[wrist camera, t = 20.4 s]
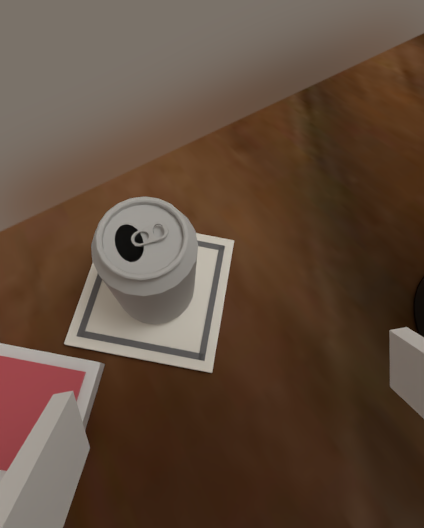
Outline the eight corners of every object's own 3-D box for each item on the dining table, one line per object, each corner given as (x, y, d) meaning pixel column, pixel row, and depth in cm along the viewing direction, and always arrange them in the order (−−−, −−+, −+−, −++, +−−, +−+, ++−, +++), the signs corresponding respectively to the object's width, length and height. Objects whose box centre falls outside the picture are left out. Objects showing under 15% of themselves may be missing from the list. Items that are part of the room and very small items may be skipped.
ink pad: (104, 364, 30) (99, 362, 28) (67, 490, 26) (58, 497, 24) (-22, 339, 29) (-35, 336, 28) (-78, 462, 26) (-98, 467, 24)
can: (111, 267, 32) (73, 202, 21) (180, 247, 34) (179, 176, 23) (130, 337, 30) (98, 304, 19) (204, 311, 31) (215, 267, 20)
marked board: (233, 243, 35) (234, 240, 35) (211, 373, 30) (212, 372, 29) (110, 219, 35) (109, 215, 35) (66, 345, 30) (63, 343, 29)
